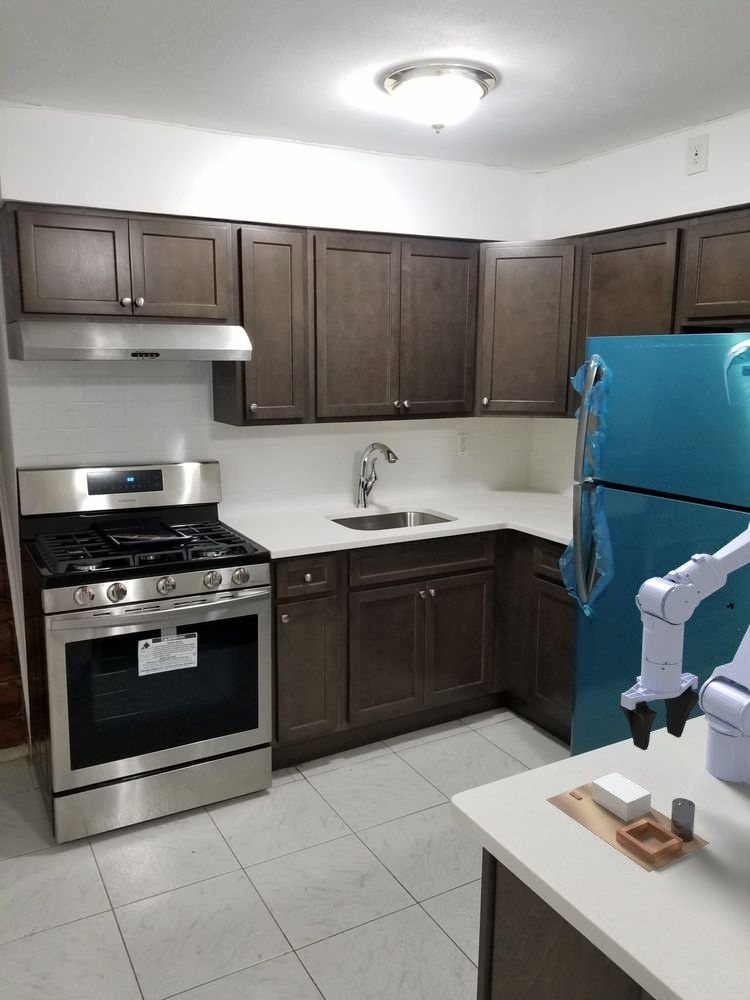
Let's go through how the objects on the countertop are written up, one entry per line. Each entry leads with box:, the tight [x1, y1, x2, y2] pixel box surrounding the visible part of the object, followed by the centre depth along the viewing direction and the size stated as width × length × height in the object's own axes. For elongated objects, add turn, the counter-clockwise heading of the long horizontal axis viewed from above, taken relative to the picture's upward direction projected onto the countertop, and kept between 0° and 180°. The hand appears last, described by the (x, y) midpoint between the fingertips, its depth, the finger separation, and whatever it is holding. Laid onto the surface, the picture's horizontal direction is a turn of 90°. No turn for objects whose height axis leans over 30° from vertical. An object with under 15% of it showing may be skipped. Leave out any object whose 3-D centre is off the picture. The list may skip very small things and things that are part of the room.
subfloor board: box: [546, 781, 710, 873], centre depth 117 cm, size 12×20×2 cm, turn 30°
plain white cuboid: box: [591, 771, 652, 822], centre depth 120 cm, size 5×7×3 cm
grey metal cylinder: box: [670, 797, 696, 843], centre depth 112 cm, size 3×3×5 cm
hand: (657, 740), depth 122 cm, fingers open, 7 cm apart
